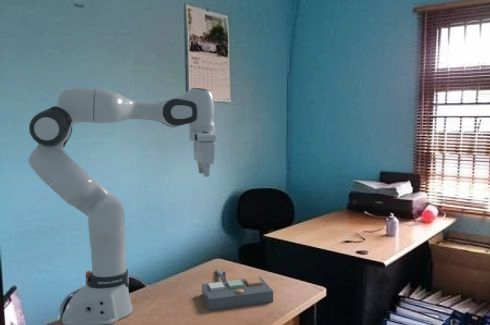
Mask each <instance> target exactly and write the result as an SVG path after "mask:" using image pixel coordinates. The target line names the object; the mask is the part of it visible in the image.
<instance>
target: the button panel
mask: <svg viewBox="0 0 490 325" xmlns="http://www.w3.org/2000/svg"><path fill="white" fill-rule="evenodd" d="M258 278H259V279H260V281H261V282H262V285H260V286H252V287H248V286H247V285H246V283H245V279H246V278H241V279H240V280H241V282H242V283H243V284H244V288H236V289H229V288H228V286H227V281H228V280H226V281H224V282H222V281H221V282H222V283H223V285H224V286H225V290H220V291H212V292H210V290H209V288H208V283H207V282H206V283H201V296H202V298H203V299H204V302H205V304H206V307H207V309H208V311H216V310H223V309H230V308H237V307H244V306H250V305H251V306H253V305H260V304H266V303H267V304H268V303H273V302H274V290H273V289H272V287H270V285H268V283H267V282H266V281H265V280H264V279H263V278H262V277H261V276H259V277H258Z"/></svg>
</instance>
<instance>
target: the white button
mask: <svg viewBox="0 0 490 325" xmlns="http://www.w3.org/2000/svg"><path fill="white" fill-rule="evenodd" d="M208 288H209V290H210V292H212V291H220V290H225V286H224V285H223V283H222V281H218V282H217V281H216V282H209V283H208Z"/></svg>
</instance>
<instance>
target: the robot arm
mask: <svg viewBox="0 0 490 325" xmlns="http://www.w3.org/2000/svg"><path fill="white" fill-rule="evenodd" d="M214 101H215V100H214V96H213V94H212V92H211V91H210V90H208V89H206V88H199V87H198V88H197V87H192V88H189V90H187V91H186V92H185V93H183V94H180V95H179V96H175V97H173V98H170V99H168V100H165V101H162V102H161V101H160V102H148V101H141V100H133V99H130V98H127V97H125V96H124V95H122V94H121V93H119V92H116V91H113V90H108V89H104V88H103V89H101V88H95V87H94V88H93V87H76V88H74V87H73V88H66V89H63V90H62V91H61V92H60V93H59V96H58V98H57V104H56V106H55V105H53V106H51V107H49V108H47V109H44V110H42V111H40V112H38V113H37V114H36V115H34V116H33V117H32V118H31V120H30V122H29V124H28V125H29V126H28V127H29V128H28V129H29V135H30V136H31V138H32V139H33V140H34V141H35V142H36V143H37V145H36V147H35V148H34V149H33V150H32V151H31V153H30V155H29V157H28V164H29V166H30V168H31V169H32V170H33V171H34V173H35V174H36V175H37V176H38V177H39V178H40V180H41V181H43V183H45V185H47V186H48V187H49V188H50V189H51V190H52V191H53V192H54V193H55V194H56V195H58V196H59V197H60V198H61V200H63V201H65V203H67V204H68V205H70V206H72V207H74V208H75V209H76V210H78V211H79V212H81V213H83V215H85V217H87V225H88V235H89V246H90V251H91V252H90V254H91V255H90V256H91V270H87V271H86V272H85V285H84V286H83V287H81V288H80V289H79V290H78V291H77V292H75V293H74V294H73V296H72V297H71V299H70V302H69V304H68V305H69V306H68V308H67V309H65V310H64V312H63V314H62V316H61V323H62V325H113V324H114V323H116V322H117V321H119V320H121V319H124V318H126V317H127V316H129V315H130V314H131V313H132V312H133V311H134V307H133V304H132V300H131V296H130V292H129V283H130V282H129V281H130V279H129V278H130V277H129V271H128V270H129V269H128V268H127V250H126V249H127V248H126V232H125V229H126V227H125V224H126V223H125V207H124V205H123V203H122V201H121V200H120V199H119V198H118V197H116V196H115V195H114V194H113V193H112V192H111V191H109V190H108V189H107V188H106V187H104V186H103V185H102V184H101V183H100V182H98V181H97V180H96V179H94V178H93V177H92V176H91V175H90V174H89V173H88V172H87V171H86V170H85V169H83V168H82V167H81V166H80V165H79V164H78V163H77V162H76V160H74V159H73V158H72V157H71V156H70V155H68V154H67V153H66V151H65V149H64V148H65V146H66V144H67V142H68V141H69V139H71V138H70V137H71V135H72V133H73V126H74V125H76V124H78V123H92V124H110V123H111V124H112V123H118V122H123V121H127V120H142V121H143V120H145V121H146V120H147V121H153V122H154V121H155V122H159V123H161V124H164V126H167V127H169V128H177V127H182V126H184V125H188V126H189V142H193V158H194V160H195V161H197V162H196V163H197V168H198V173H199V174H201V175H203V177H207V178H208V177H209V176H210V170H211V165H214V162H215V158H216V157H215V153H216V152H215V151H216V149H215V148H216V143H215V142H216V141H217V133H216V125H215V122H214V120H215V119H214V117H215V102H214Z"/></svg>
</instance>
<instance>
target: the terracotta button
mask: <svg viewBox="0 0 490 325" xmlns="http://www.w3.org/2000/svg"><path fill="white" fill-rule="evenodd" d="M244 279H245V283H246V285H247V286H248V287H252V286H260V285H262V282H261V281H260V279H259V278H258V277H250V278H244Z"/></svg>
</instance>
